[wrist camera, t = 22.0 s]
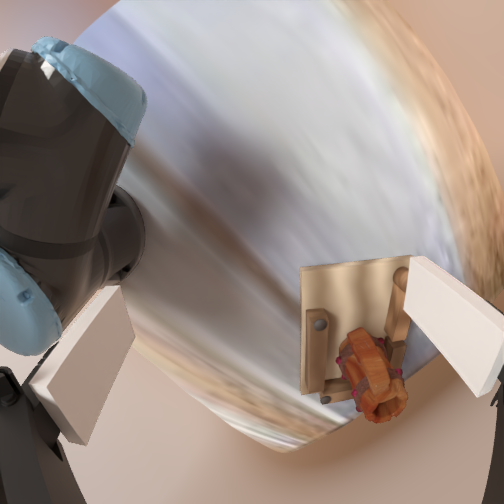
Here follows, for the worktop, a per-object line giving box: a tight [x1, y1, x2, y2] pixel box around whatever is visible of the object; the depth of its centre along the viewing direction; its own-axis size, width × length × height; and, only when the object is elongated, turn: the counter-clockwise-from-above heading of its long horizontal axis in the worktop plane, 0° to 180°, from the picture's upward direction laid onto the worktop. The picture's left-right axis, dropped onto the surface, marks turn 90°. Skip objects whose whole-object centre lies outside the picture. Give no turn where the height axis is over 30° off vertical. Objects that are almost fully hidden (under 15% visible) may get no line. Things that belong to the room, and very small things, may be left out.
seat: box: [300, 255, 413, 405], centre depth 43 cm, size 18×24×5 cm
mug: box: [335, 327, 408, 423], centre depth 37 cm, size 15×8×15 cm, turn 25°
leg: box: [384, 267, 411, 342], centre depth 40 cm, size 11×3×4 cm, turn 1°
